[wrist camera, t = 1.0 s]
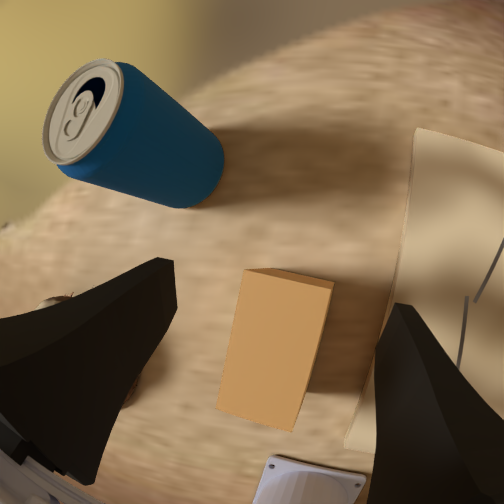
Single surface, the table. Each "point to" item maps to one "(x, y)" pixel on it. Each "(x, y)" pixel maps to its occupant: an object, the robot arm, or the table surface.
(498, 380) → the maple board
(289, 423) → the block
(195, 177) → the beverage can
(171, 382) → the table surface
